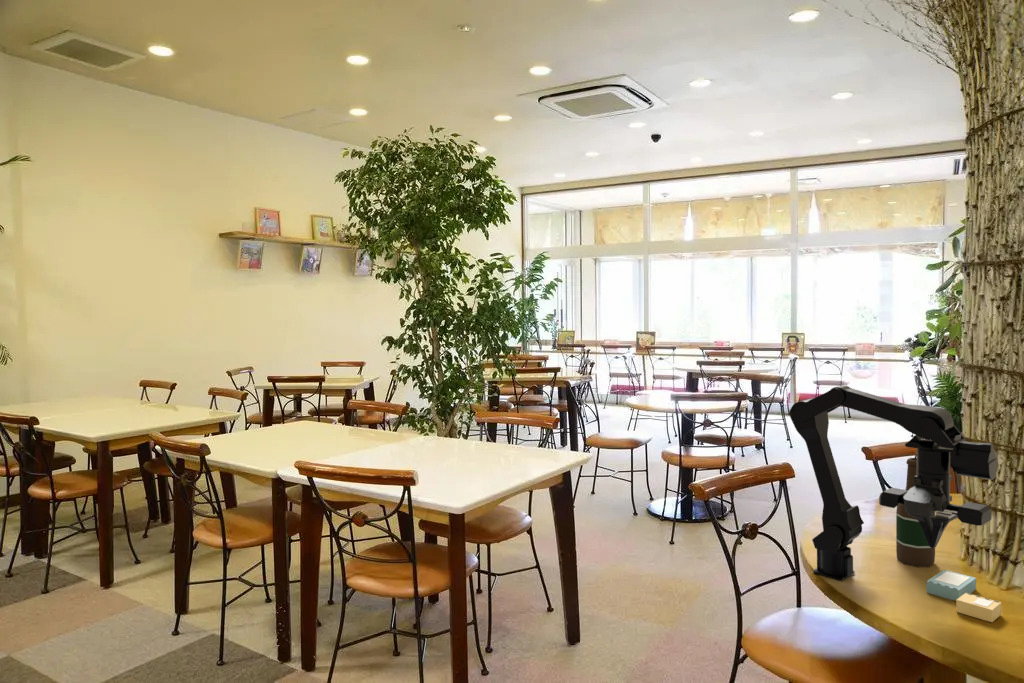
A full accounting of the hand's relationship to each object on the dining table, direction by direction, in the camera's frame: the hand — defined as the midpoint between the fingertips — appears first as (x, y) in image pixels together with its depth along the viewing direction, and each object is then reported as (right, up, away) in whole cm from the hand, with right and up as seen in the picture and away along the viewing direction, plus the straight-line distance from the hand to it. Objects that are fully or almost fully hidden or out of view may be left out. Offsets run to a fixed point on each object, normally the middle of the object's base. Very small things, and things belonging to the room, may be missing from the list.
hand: (932, 547), depth 139 cm
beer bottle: (+8, -10, +20) cm, 24 cm away
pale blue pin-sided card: (+7, -10, +4) cm, 13 cm away
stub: (+5, -11, -6) cm, 14 cm away
